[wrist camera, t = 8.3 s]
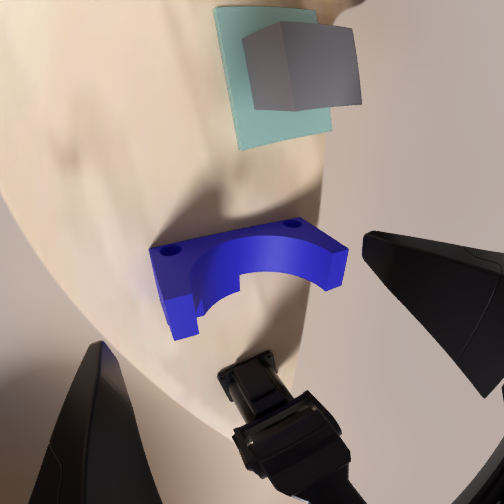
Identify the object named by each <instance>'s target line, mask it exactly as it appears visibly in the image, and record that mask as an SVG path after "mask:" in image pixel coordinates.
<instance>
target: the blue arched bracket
mask: <svg viewBox="0 0 504 504" xmlns="http://www.w3.org/2000/svg"><path fill="white" fill-rule="evenodd" d="M348 250H349V249H348V248H347V247H345V246H344V245H342V244H340V243H339V242H338V241H336V240H335V239H333V238H332V237H330V236H328V235H327V234H326V233H324V232H322V231H321V230H319V229H318V228H316V227H315V226H313V225H312V224H310V223H308V222H307V221H305V220H304V219H302V218H301V217H298V218H293V219H288V220H283V221H277V222H272V223H267V224H262V225H257V226H252V227H247V228H242V229H237V230H233V231H228V232H223V233H218V234H213V235H209V236H204V237H199V238H195V239H190V240H186V241H181V242H177V243H172V244H168V245H163V246H159V247H154V248H150V249H149V253H150V258H151V263H152V267H153V272H154V276H155V281H156V285H157V289H158V293H159V297H160V301H161V305H162V308H163V311H164V314H165V317H166V320H167V323H168V325H169V327H170V329H171V332H172V335H173V338H174V341H176V340H180V339H183V338H187V337H190V336H194V335H197V334H199V330H198V325H197V319H196V318H197V317H200V316H204V315H205V314H206V312H207V311H208V310H209V309H210V308H211V307H212V306H213V305H214V304H215V303H216V302H218V301H219V300H221V299H222V298H224V297H226V296H228V295H230V294H232V293H235V292H238V291H240V281H239V275H241V274H246V273H251V272H266V271H269V272H281V273H287V274H291V275H295V276H299V277H301V278H304V279H306V280H309V281H311V282H313V283H315V284H317V285H318V286H319V287H321V288H322V289H323V290H324V291H328V290H330V289H333V288H336V287H338V286H341V285H342V280H343V276H344V271H345V266H346V261H347V256H348Z"/></svg>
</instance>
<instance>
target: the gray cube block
mask: <svg viewBox="0 0 504 504" xmlns="http://www.w3.org/2000/svg"><path fill="white" fill-rule="evenodd" d="M242 43H243V48H244V53H245V59H246V64H247V69H248V75H249V81H250V86H251V92H252V98H253V104H254V109H255V110H274V111H291V112H296V111H303V110H311V109H319V108H327V107H336V106H348V105H361V104H362V99H361V90H360V79H359V71H358V63H357V55H356V49H355V42H354V36H353V31H352V28H346V27H339V26H333V25H325V24H316V23H305V22H289V21H279V22H277V23H274V24H272V25H270V26H267V27H265V28H263V29H261V30H259V31H257V32H254V33H252V34H250V35H248V36H246V37H244V38H242Z"/></svg>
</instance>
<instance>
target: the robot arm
mask: <svg viewBox="0 0 504 504" xmlns="http://www.w3.org/2000/svg"><path fill="white" fill-rule="evenodd" d="M362 257H363V259H364V261H365V262H366V263H367V264H368V266H369V267H370V268H371V269H372V270H373V271H374V273H375V274H376V275H377V276H378V277H379V279H380V280H381V281H382V282H383V284H384V285H385V286H386V287H387V288H388V289H389V290H390V291H391V293H392V294H393V295H394V296H395V297H397V299H398V300H399V301H400V302H401V303H402V304H403V305H404V306H405V307H406V308H407V309H408V310H409V311H410V312H411V314H412V315H413V316H414V317H415V318H416V319H417V320H418V321H419V322H420V323H421V324H422V325H423V326H424V328H425V329H426V330H427V331H428V332H429V333H430V334H431V335H432V337H433V338H434V339H435V340H436V341H437V342H438V343H439V344H440V346H441V347H442V348H443V349H444V350H445V351H446V353H447V354H448V355H449V356H450V357H451V358H452V360H453V361H454V362H455V363H456V365H457V366H458V367H459V368H460V369H461V371H462V372H463V373H464V374H465V376H466V377H467V378H468V379H469V381H470V382H471V383H472V384H473V386H474V387H475V388H476V389H477V391H478V392H479V393H480V395H481V396H482V397H483V398H486V397H487V396H488V395H489V394H490V392H492V390H493V389H494V388H495V387H496V386H497V385H498V384H499V383H500V381H501V380H502V379H503V378H504V253H500V252H493V251H486V250H481V249H476V248H470V247H465V246H459V245H455V244H449V243H444V242H438V241H433V240H427V239H422V238H416V237H411V236H405V235H398V234H392V233H386V232H380V231H371V232H368V233H366V234H365V235H364V237H363V247H362ZM217 378H218V380H219V382H220V384H221V386H222V387H223V389H224V391H225V393H226V395H227V397H228V398H229V400H230V401H231V402H233V401H234V402H235V404H236V406H237V408H238V410H239V412H240V413H241V415H242V417H243V419H244V421H245V422H246V424H245V425H243V426H241V427H239V428H238V427H237V428H235V429H233V430H234V432H235V434H234V435H233V436H232V438H233V440H234V442H235V444H236V446H237V448H238V449H239V452H240V455H241V457H242V460H243V462H244V465H245V467H246V468H247V470H249V471H253V472H255V473H256V474H257V475H259V477H260V478H261V479H264V478H266V477H268V478H269V480H270V481H271V483H272V484H273V486H274V487H275V489H276V490H278V491H279V492H282V493H284V494H286V495H288V496H291V497H293V498H296V499H298V500H301V501H303V502H306V503H308V504H367V503H366V502H365V501H364V500H363V498H362V497H361V496H360V494H359V493H358V492H357V491H356V489H355V488H354V487H353V485H352V484H351V483H350V481H349V480H348V471H349V470H348V467H349V462H351V457H350V450H349V449H348V448H347V446H346V445H345V443H344V442H343V441H342V439H341V438H340V435H341V434H342V432H341V429H340V427H339V425H338V423H337V422H336V420H335V419H334V417H333V416H332V415H331V414H330V413H329V412H328V410H326V409H325V407H323V405H322V404H321V403H320V402H319V401H318V400H317V399H316V398H315V397H314V396H313V395H312V394H311V393H310V392H309V391H308V390H307V391H305V392H303V394H301V395H300V396H298V397H296V398H293V397H292V395H291V394H290V392H289V391H288V389H287V388H286V387H285V385H284V384H283V382H282V381H281V380H280V378H279V377H278V375H277V374H276V368H275V363H274V357H273V354H272V352H271V351H267V352H265V353H263V354H261V355H259V356H257V357H255V358H253V359H250V360H248V361H246V362H244V363H242V364H240V365H238V366H236V367H233V368H231V369H229V370H227V371H225V372H222V373H220V374H219V375H218V376H217ZM502 393H503V400H504V384H503V386H502ZM252 441H253V443H252V444H251V443H250V442H252ZM28 504H163V503H162V501H161V498H160V496H159V493H158V490H157V488H156V485H155V483H154V480H153V477H152V474H151V471H150V468H149V465H148V462H147V458H146V455H145V452H144V449H143V445H142V442H141V438H140V434H139V431H138V427H137V423H136V419H135V415H134V411H133V407H132V404H131V401H130V398H129V395H128V392H127V389H126V386H125V383H124V379H123V376H122V373H121V369H120V366H119V363H118V360H117V359H116V357H115V356H114V354H113V353H112V352H111V350H110V349H109V347H108V346H107V345H106V344H105V342H104V341H98V342H95V343H92V344H90V346H89V347H88V349H87V352H86V354H85V356H84V358H83V360H82V362H81V365H80V366H79V368H78V371H77V373H76V375H75V377H74V380H73V382H72V384H71V387H70V389H69V391H68V394H67V396H66V399H65V401H64V403H63V406H62V408H61V411H60V413H59V416H58V419H57V422H56V424H55V427H54V430H53V433H52V435H51V438H50V444H48V447H47V450H46V453H45V456H44V459H43V462H42V465H41V468H40V472H39V474H38V477H37V480H36V483H35V485H34V488H33V491H32V494H31V497H30V500H29V503H28ZM452 504H504V437H503V439H502V440H501V442H500V444H499V445H498V447H497V448H496V449H495V451H494V452H493V454H492V455H491V457H490V458H489V459H488V461H487V462H486V463H485V465H484V466H483V468H482V469H481V470H480V471H479V473H478V474H477V475H476V477H475V478H474V479H473V480H472V481H471V483H470V484H469V485H468V486H467V487H466V489H465V490H464V491H463V492H462V493H461V494H460V495H459V496H458V498H457V499H456V500H455V501H454V502H453V503H452Z"/></svg>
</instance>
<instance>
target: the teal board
mask: <svg viewBox="0 0 504 504" xmlns="http://www.w3.org/2000/svg"><path fill="white" fill-rule="evenodd" d="M213 13H214V18H215V23H216V29H217V34H218V39H219V45H220V50H221V55H222V61H223V66H224V71H225V77H226V82H227V87H228V93H229V98H230V104H231V109H232V115H233V120H234V125H235V131H236V136H237V142H238V147H239V150H242V151H243V150H246V149H250V148H254V147H258V146H262V145H266V144H271V143H275V142H279V141H284V140H289V139H293V138H298V137H303V136H308V135H313V134H319V133H324V132H330V131H332V124H331V114H330V107H327V108H319V109H311V110H303V111H296V112H291V111H274V110H255V109H254V104H253V98H252V92H251V86H250V81H249V75H248V69H247V64H246V59H245V53H244V48H243V43H242V38H244V37H246V36H248V35H250V34H252V33H254V32H257V31H259V30H261V29H263V28H265V27H267V26H270V25H272V24H274V23H277V22H279V21H289V22H305V23H316V24H318V21H317V16H316V11H314V10H306V9H296V8H284V7H263V6H238V7H217V8H215V9H214V10H213Z"/></svg>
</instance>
